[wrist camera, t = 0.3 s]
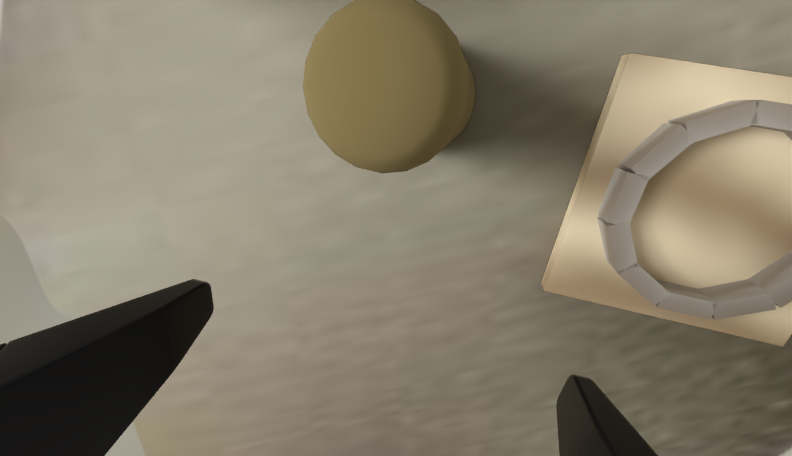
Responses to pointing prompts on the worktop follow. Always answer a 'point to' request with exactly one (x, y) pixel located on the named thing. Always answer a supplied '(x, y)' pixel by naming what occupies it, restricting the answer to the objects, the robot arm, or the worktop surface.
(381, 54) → the cork
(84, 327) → the robot arm
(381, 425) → the worktop surface
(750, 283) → the seat
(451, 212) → the worktop surface
